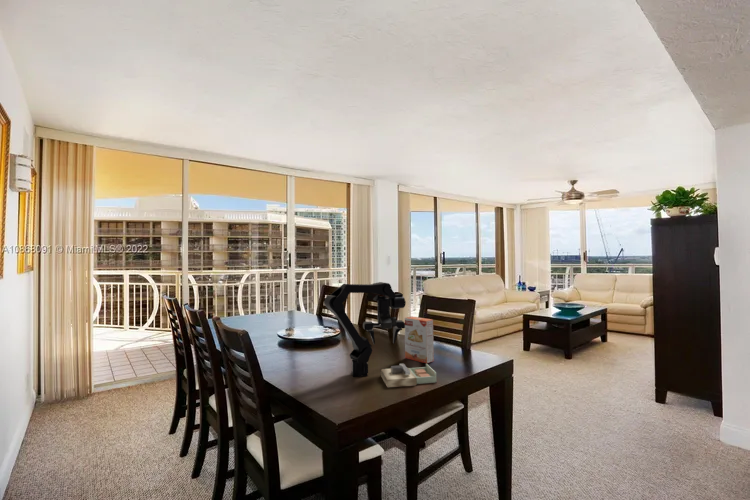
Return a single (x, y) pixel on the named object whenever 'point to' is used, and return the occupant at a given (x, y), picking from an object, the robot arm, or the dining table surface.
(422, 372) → the tile
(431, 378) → the tray
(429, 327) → the cracker box
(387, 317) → the robot arm
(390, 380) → the board
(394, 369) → the scraper
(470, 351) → the dining table surface
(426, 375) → the tile
